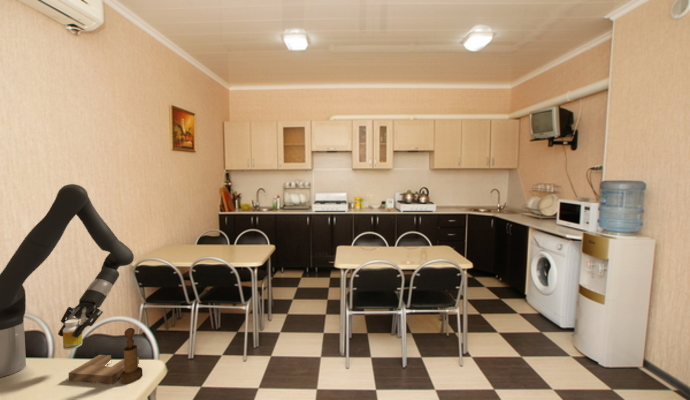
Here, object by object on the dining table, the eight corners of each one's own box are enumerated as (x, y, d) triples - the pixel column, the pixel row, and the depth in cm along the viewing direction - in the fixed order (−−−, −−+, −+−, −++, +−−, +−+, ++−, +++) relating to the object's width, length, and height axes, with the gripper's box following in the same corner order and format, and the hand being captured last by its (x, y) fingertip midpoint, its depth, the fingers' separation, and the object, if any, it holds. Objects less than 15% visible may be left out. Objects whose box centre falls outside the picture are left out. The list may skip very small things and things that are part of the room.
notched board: (68, 381, 110) (68, 372, 110) (99, 362, 122) (99, 354, 122) (111, 384, 108) (111, 375, 108) (139, 364, 120) (138, 357, 120)
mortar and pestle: (131, 385, 107) (128, 333, 107) (115, 383, 109) (113, 332, 108) (146, 373, 114) (144, 325, 113) (131, 372, 115) (129, 323, 115)
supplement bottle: (79, 348, 115) (79, 322, 115) (60, 351, 113) (60, 324, 113) (84, 341, 120) (83, 316, 120) (66, 344, 118) (65, 319, 118)
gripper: (74, 287, 124) (42, 331, 113) (106, 289, 122) (77, 333, 111) (87, 296, 130) (58, 338, 118) (118, 298, 128) (91, 341, 116)
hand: (67, 336), depth 115 cm, fingers closed on supplement bottle, 5 cm apart
